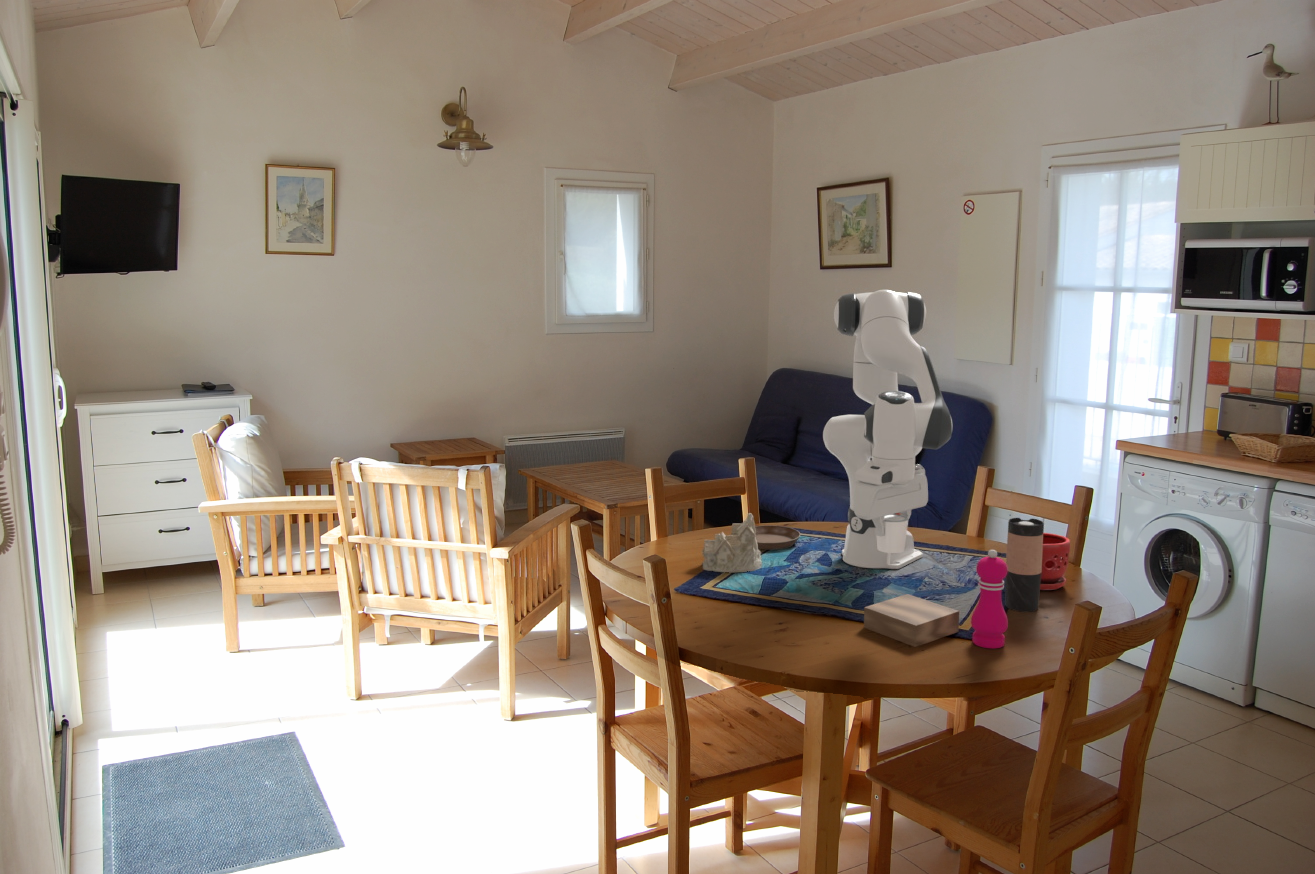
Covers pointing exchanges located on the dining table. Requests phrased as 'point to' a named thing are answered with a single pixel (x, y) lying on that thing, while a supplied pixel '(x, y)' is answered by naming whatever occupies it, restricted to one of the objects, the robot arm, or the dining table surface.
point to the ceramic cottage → (733, 549)
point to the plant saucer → (775, 537)
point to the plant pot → (1054, 561)
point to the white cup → (893, 534)
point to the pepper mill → (990, 603)
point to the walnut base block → (911, 620)
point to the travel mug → (1023, 564)
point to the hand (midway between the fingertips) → (891, 532)
